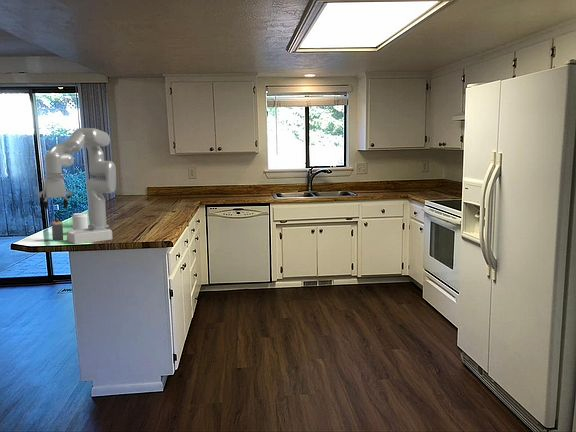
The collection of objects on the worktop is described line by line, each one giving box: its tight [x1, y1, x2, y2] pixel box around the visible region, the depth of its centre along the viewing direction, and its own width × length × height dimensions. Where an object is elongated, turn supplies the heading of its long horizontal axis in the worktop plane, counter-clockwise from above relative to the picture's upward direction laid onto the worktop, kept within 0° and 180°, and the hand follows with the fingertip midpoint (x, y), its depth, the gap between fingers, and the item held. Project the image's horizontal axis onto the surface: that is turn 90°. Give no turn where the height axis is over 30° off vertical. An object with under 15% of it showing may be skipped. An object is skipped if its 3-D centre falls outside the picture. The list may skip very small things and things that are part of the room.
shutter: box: [89, 223, 105, 231], centre depth 252 cm, size 7×7×3 cm
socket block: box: [66, 227, 113, 245], centre depth 249 cm, size 12×20×6 cm, turn 134°
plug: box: [51, 218, 64, 242], centre depth 248 cm, size 5×4×12 cm
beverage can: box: [71, 212, 89, 230], centre depth 266 cm, size 8×8×12 cm
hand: (56, 208), depth 246 cm, fingers open, 9 cm apart
